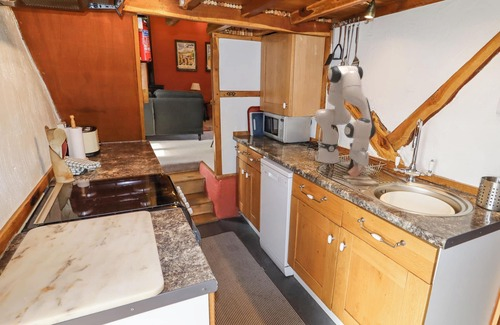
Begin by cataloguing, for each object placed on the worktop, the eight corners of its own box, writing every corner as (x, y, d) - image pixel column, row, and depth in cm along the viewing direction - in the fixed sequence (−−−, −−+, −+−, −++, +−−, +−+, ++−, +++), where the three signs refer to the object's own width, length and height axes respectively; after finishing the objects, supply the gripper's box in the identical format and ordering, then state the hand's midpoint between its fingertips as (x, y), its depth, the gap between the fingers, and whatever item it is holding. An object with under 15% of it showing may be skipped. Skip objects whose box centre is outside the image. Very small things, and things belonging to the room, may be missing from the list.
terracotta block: (347, 171, 169) (359, 162, 168) (351, 176, 170) (363, 166, 168) (349, 173, 165) (362, 163, 164) (353, 178, 166) (366, 168, 164)
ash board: (342, 176, 176) (342, 175, 175) (367, 177, 176) (367, 175, 176) (351, 185, 161) (351, 183, 161) (378, 186, 162) (378, 184, 161)
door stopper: (355, 173, 184) (357, 155, 181) (347, 171, 189) (349, 154, 185) (362, 171, 190) (365, 154, 186) (354, 169, 194) (357, 152, 191)
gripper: (373, 150, 153) (369, 174, 157) (359, 143, 173) (355, 164, 176) (362, 150, 153) (358, 174, 157) (348, 143, 173) (346, 164, 176)
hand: (357, 169), depth 167 cm, fingers closed on terracotta block, 4 cm apart
